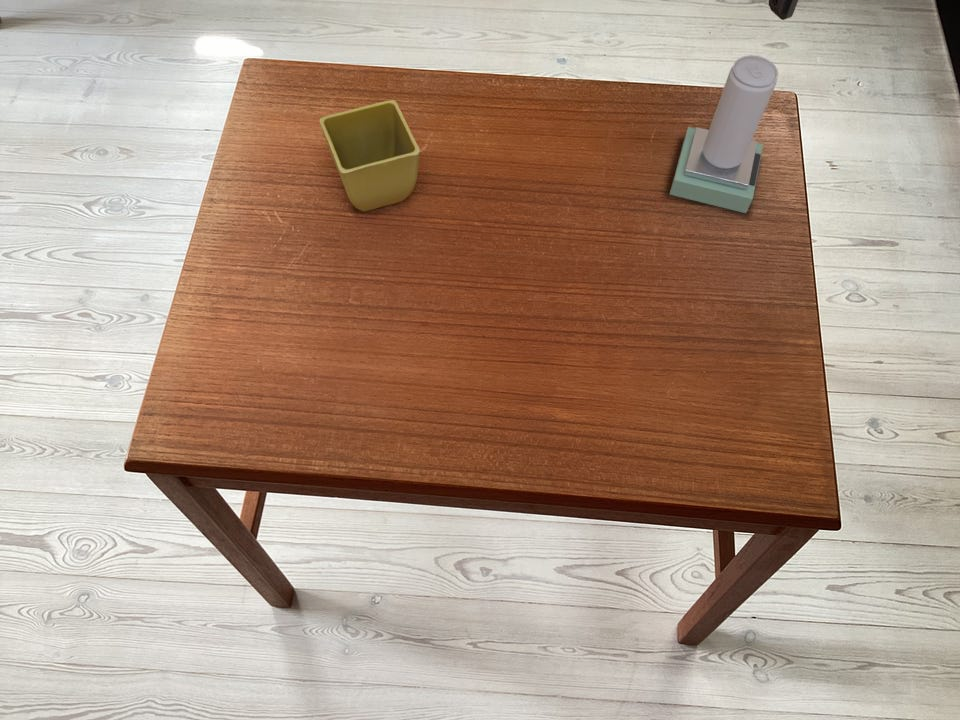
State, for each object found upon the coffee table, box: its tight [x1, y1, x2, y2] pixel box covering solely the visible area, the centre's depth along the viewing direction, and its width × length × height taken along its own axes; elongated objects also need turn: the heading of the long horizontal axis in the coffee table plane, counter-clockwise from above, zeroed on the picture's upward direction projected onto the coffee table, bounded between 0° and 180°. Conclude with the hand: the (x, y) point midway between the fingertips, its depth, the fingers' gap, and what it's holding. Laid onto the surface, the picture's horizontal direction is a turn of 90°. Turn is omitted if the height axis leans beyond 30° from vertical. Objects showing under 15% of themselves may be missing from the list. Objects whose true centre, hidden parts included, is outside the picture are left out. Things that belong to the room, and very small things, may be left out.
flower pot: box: [319, 99, 421, 213], centre depth 86 cm, size 9×9×9 cm
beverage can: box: [703, 55, 779, 169], centre depth 83 cm, size 5×5×12 cm
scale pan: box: [684, 126, 758, 190], centre depth 89 cm, size 7×7×1 cm
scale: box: [669, 126, 764, 214], centre depth 90 cm, size 9×9×3 cm
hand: (819, 0), depth 67 cm, fingers open, 8 cm apart
